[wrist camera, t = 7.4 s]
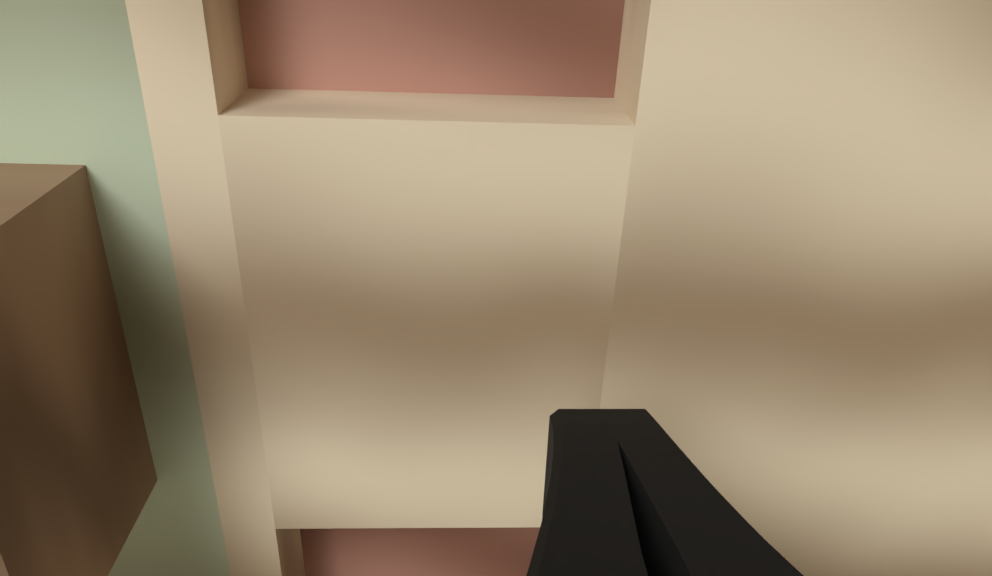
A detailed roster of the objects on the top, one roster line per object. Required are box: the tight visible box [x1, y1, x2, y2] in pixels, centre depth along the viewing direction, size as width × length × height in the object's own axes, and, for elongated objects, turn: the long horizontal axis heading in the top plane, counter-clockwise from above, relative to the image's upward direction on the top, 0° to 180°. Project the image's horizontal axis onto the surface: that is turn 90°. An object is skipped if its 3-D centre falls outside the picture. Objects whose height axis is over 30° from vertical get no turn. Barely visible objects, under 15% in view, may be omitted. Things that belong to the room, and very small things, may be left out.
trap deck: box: [0, 0, 992, 576], centre depth 13 cm, size 18×24×2 cm
